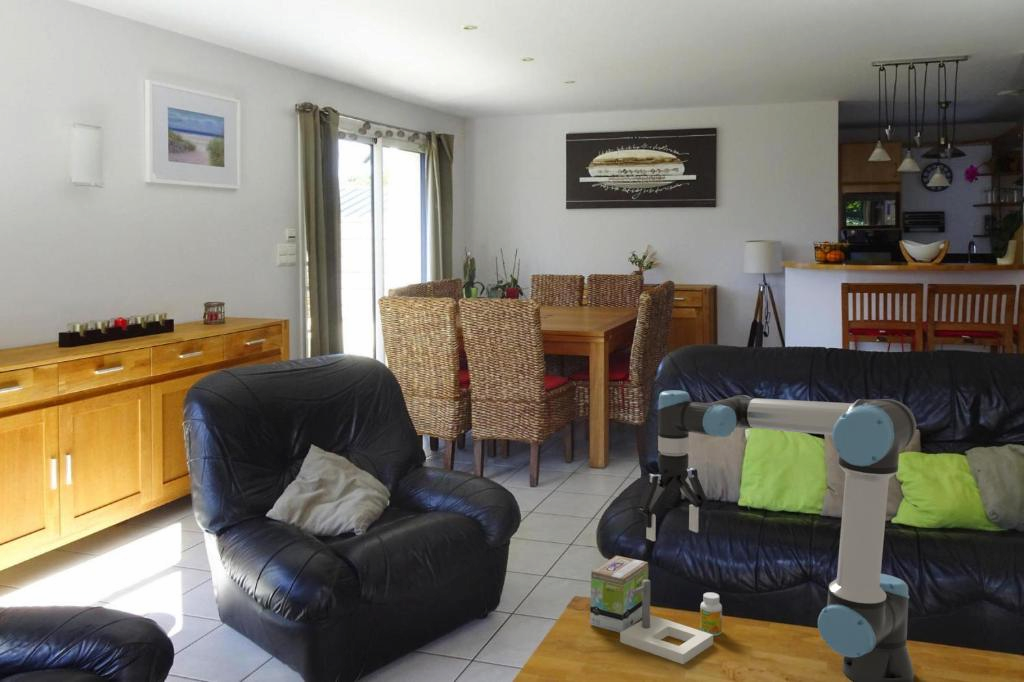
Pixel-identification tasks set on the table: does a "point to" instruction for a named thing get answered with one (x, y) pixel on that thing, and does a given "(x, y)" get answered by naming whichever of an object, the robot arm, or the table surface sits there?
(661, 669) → the table surface
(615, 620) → the tea box
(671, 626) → the white square-hole base
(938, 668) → the table surface
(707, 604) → the supplement bottle
